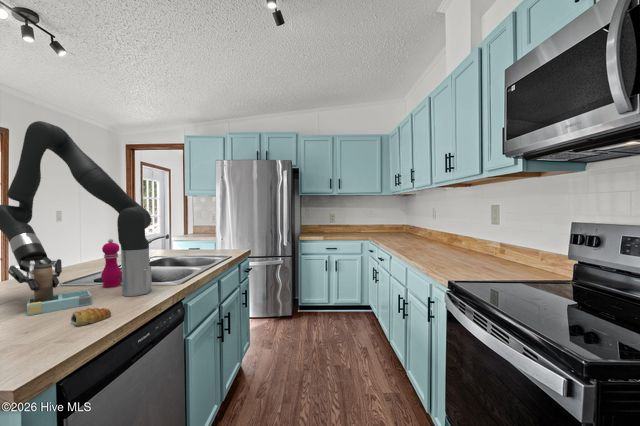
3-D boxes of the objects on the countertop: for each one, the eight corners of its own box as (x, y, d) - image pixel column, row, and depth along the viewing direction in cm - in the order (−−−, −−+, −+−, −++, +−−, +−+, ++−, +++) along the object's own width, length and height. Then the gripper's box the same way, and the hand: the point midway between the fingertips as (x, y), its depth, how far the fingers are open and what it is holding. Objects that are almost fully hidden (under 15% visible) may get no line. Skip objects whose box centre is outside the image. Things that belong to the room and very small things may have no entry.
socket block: (88, 297, 112) (88, 288, 112) (91, 304, 104) (91, 294, 104) (28, 308, 101) (28, 298, 101) (26, 316, 93) (26, 305, 93)
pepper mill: (99, 289, 123) (98, 240, 123) (103, 285, 130) (101, 238, 129) (121, 286, 127) (119, 239, 126) (123, 282, 133) (121, 237, 133)
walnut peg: (56, 301, 103) (55, 263, 103) (48, 305, 99) (46, 266, 99) (40, 302, 102) (39, 264, 102) (31, 306, 98) (29, 266, 97)
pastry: (105, 313, 96) (105, 301, 95) (115, 318, 92) (114, 305, 92) (68, 323, 88) (68, 310, 88) (77, 328, 84) (76, 315, 84)
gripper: (2, 244, 97) (21, 286, 92) (56, 239, 110) (76, 276, 105) (-4, 259, 99) (14, 301, 94) (50, 253, 112) (68, 289, 107)
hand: (46, 287), depth 100 cm, fingers closed on walnut peg, 4 cm apart
